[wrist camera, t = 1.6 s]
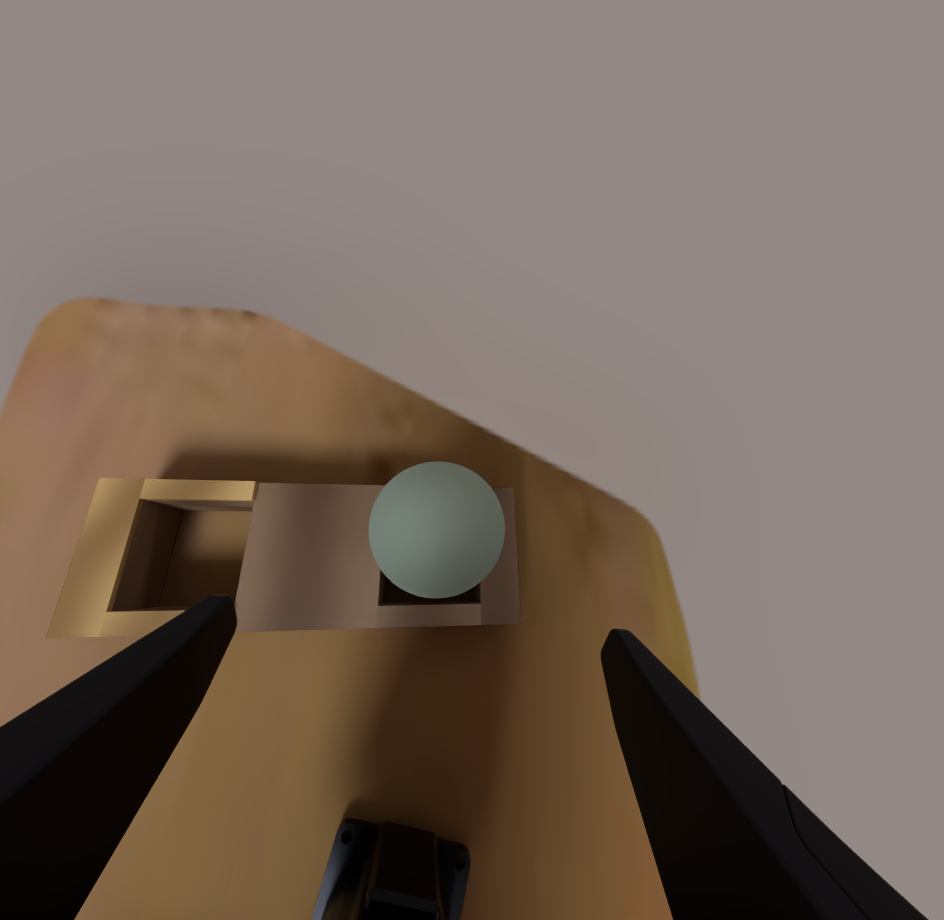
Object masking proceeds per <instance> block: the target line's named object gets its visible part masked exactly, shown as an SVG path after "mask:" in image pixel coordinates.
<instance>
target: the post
mask: <svg viewBox="0 0 944 920" xmlns="http://www.w3.org/2000/svg"><path fill="white" fill-rule="evenodd" d="M504 537H505V521H504V515H503V511H502V507H501V505H500V502H499V500H498V498H497V496H496V494H495V492H494V491H493V490H492V488H491V487H490V486H489V485H488V483H487V482H486V481H485V480H484V479H483V478H481V477H480V476H479V475H478V474H476V473H475V472H473V471H472V470H470V469H468V468H466V467H464V466H461V465H458V464H455V463H450V462H441V461H435V462H426V463H421V464H418V465H414V466H412V467H410V468H407V469H405V470H404V471H402V472H400V473H399V474H398V475H396V476H395V477H394V478H392V479H391V480H390V481H389V482H388V483H387V484H386V486H385V487H384V488H383V489H382V491H381V492H380V494H379V495H378V497H377V499H376V501H375V503H374V506H373V508H372V512H371V515H370V521H369V541H370V546H371V550H372V554H373V556H374V558H375V561H376V563H377V564H378V566H379V568H380V569H381V571H382V572H383V573H384V574H385V576H386V577H387V578H388V579H389V580H390V581H391V582H392V583H393V584H395V585H396V586H398V587H399V588H401V589H402V590H404V591H406V592H408V593H410V594H413V595H416V596H420V597H425V598H437V599H438V598H448V597H452V596H456V595H459V594H461V593H464V592H466V591H468V590H470V589H471V588H473V587H475V586H476V585H477V584H479V583H480V582H481V581H482V580H483V579H484V578H485V577H486V576H487V575H488V574H489V573H490V571H491V570H492V569H493V567H494V566H495V564H496V562H497V561H498V558H499V556H500V554H501V551H502V547H503V544H504Z"/></svg>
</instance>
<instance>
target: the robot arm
mask: <svg viewBox="0 0 944 920" xmlns="http://www.w3.org/2000/svg"><path fill="white" fill-rule="evenodd" d="M236 627H237V615H236V610H235V604H234V600H233V598H232V597H231V596H229V595H219V594H213V595H210V596H208V597H206V598H205V599H203V600H201V601H200V602H198V603H197V604H195V605H193V606H192V607H190V608H189V609H187V610H185V611H184V612H182V613H181V614H179V615H178V616H176V617H174V618H173V619H171V620H170V621H168V622H166V623H165V624H163V625H162V626H160V627H158V628H157V629H155V630H154V631H152V632H150V633H149V634H147V635H146V636H144V637H143V638H141V639H139V640H138V641H136V642H135V643H133V644H131V645H130V646H128V647H127V648H125V649H123V650H122V651H120V652H119V653H117V654H116V655H114V656H112V657H111V658H109V659H108V660H106V661H104V662H103V663H101V664H100V665H98V666H96V667H95V668H93V669H92V670H90V671H89V672H87V673H85V674H84V675H82V676H81V677H79V678H77V679H76V680H74V681H73V682H71V683H69V684H68V685H66V686H65V687H63V688H62V689H60V690H58V691H57V692H55V693H54V694H52V695H50V696H49V697H47V698H46V699H44V700H42V701H41V702H39V703H38V704H36V705H34V706H33V707H31V708H30V709H28V710H27V711H25V712H23V713H22V714H20V715H19V716H17V717H15V718H14V719H12V720H11V721H9V722H7V723H6V724H4V725H3V726H1V727H0V920H74V919H75V917H76V916H77V914H78V912H79V911H80V909H81V907H82V905H83V904H84V902H85V900H86V899H87V897H88V895H89V894H90V892H91V890H92V888H93V887H94V885H95V883H96V882H97V880H98V878H99V877H100V875H101V873H102V871H103V870H104V868H105V866H106V865H107V863H108V861H109V860H110V858H111V856H112V854H113V853H114V851H115V849H116V848H117V846H118V844H119V843H120V841H121V839H122V837H123V836H124V834H125V832H126V831H127V829H128V827H129V826H130V824H131V822H132V820H133V819H134V817H135V815H136V814H137V812H138V810H139V809H140V807H141V805H142V803H143V802H144V800H145V798H146V797H147V795H148V793H149V792H150V790H151V788H152V786H153V785H154V783H155V781H156V780H157V778H158V776H159V775H160V773H161V771H162V769H163V768H164V766H165V764H166V763H167V761H168V759H169V758H170V756H171V754H172V752H173V751H174V749H175V747H176V746H177V744H178V742H179V741H180V739H181V737H182V735H183V734H184V732H185V730H186V729H187V727H188V725H189V724H190V722H191V720H192V718H193V717H194V715H195V713H196V711H197V710H198V708H199V706H200V704H201V702H202V700H203V698H204V696H205V694H206V692H207V690H208V688H209V686H210V684H211V682H212V680H213V677H214V675H215V673H216V671H217V669H218V667H219V665H220V663H221V660H222V658H223V656H224V654H225V652H226V650H227V648H228V646H229V643H230V641H231V639H232V637H233V635H234V633H235V631H236ZM601 662H602V667H603V672H604V677H605V682H606V686H607V691H608V696H609V701H610V706H611V711H612V715H613V720H614V724H615V728H616V732H617V736H618V739H619V742H620V746H621V749H622V752H623V756H624V759H625V762H626V766H627V769H628V772H629V775H630V779H631V782H632V785H633V789H634V792H635V795H636V799H637V802H638V805H639V808H640V812H641V815H642V818H643V822H644V825H645V828H646V832H647V835H648V838H649V841H650V845H651V848H652V851H653V855H654V858H655V861H656V865H657V868H658V871H659V874H660V878H661V881H662V884H663V888H664V891H665V894H666V898H667V901H668V904H669V907H670V911H671V914H672V917H673V920H928V919H927V918H926V917H925V916H924V915H923V914H921V913H920V912H919V911H918V910H917V909H916V908H915V907H914V906H913V905H911V904H910V903H909V902H908V901H907V900H906V899H905V898H904V897H903V896H901V895H900V894H899V893H898V892H897V891H896V890H895V889H894V888H893V887H892V886H890V885H889V884H888V883H887V882H886V881H885V880H884V879H883V878H882V877H880V875H878V874H877V873H876V872H875V871H874V870H873V869H872V868H871V867H870V866H869V865H868V864H867V863H866V862H864V861H863V860H862V859H861V858H860V857H859V856H858V855H857V854H856V853H855V852H853V851H852V850H851V849H850V848H849V847H848V846H847V845H846V844H845V843H844V842H843V841H842V840H841V839H840V838H839V837H837V835H836V834H834V833H833V832H832V831H831V830H830V829H829V828H828V827H827V826H826V825H825V824H824V823H823V822H822V821H821V820H820V819H819V818H818V817H817V816H816V815H815V814H814V813H813V812H812V811H811V810H810V809H809V808H808V807H807V806H806V805H805V804H804V803H803V802H802V801H801V800H800V799H799V798H798V797H796V795H794V793H793V792H792V791H791V790H790V789H788V788H787V787H786V786H785V785H782V783H781V781H780V780H779V779H778V778H777V777H776V776H775V775H774V774H773V773H772V772H771V771H770V770H769V769H768V768H767V767H766V766H765V765H764V764H763V763H762V762H761V761H760V760H759V759H758V758H757V757H756V756H755V755H754V754H753V753H752V752H751V751H750V750H749V749H748V748H747V747H746V746H745V745H744V744H743V743H742V742H741V741H740V740H739V739H738V738H737V737H736V736H735V735H734V734H733V733H732V732H731V731H730V730H729V729H728V728H727V727H726V726H725V725H724V724H723V723H722V722H721V721H720V720H719V719H718V718H717V717H716V716H715V715H714V714H713V713H712V712H711V711H710V710H709V709H708V708H707V707H706V706H705V705H704V704H703V703H702V702H701V701H700V700H699V699H698V698H697V697H696V696H695V695H694V694H693V693H692V692H691V691H690V690H689V689H688V688H687V687H686V686H685V685H684V684H683V683H682V682H681V681H680V680H679V679H678V678H677V677H676V676H675V675H674V674H673V673H672V672H671V671H670V670H669V669H668V668H667V667H666V666H665V665H664V664H663V663H662V662H661V661H660V660H659V659H658V658H657V657H656V656H655V655H654V654H653V653H652V652H651V651H650V650H649V649H648V648H646V647H645V646H644V645H643V644H642V643H641V642H640V641H639V640H638V639H637V638H636V637H635V636H634V635H633V634H632V633H631V632H630V631H628V630H625V629H612V630H611V631H610V632H609V634H608V636H607V639H606V641H605V643H604V645H603V647H602V650H601ZM345 830H349V831H351V833H352V836H351V837H350V838H345V837H344V835H343V832H344V831H345ZM459 856H462V857H463V858H464V860H463V862H462V863H461V864H457V863H455V860H456V858H457V857H459ZM469 869H470V855H469V851H468V849H467V847H466V846H465V845H463V844H460V843H456V842H452V841H447V840H443V839H439V838H436V837H435V835H434V833H433V832H429V831H425V830H420V829H416V828H412V827H407V826H403V825H399V824H395V823H390V822H385V823H383V824H382V825H379V824H375V823H370V822H366V821H362V820H358V819H353V818H348V819H346V820H344V821H343V822H342V823H341V824H340V826H339V828H338V831H337V834H336V837H335V841H334V844H333V847H332V851H331V854H330V858H329V861H328V865H327V868H326V871H325V875H324V878H323V882H322V885H321V889H320V892H319V895H318V899H317V902H316V906H315V909H314V913H313V916H312V920H460V918H461V912H462V907H463V901H464V896H465V891H466V885H467V880H468V874H469Z"/></svg>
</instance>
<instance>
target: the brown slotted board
mask: <svg viewBox="0 0 944 920" xmlns="http://www.w3.org/2000/svg"><path fill="white" fill-rule="evenodd" d="M385 486H386V485H345V484H297V483H257V482H256V481H221V480H173V479H126V478H99V481H98V484H97V487H96V490H95V493H94V496H93V499H92V501H91V504H90V507H89V510H88V513H87V516H86V519H85V522H84V525H83V528H82V531H81V534H80V537H79V540H78V543H77V546H76V549H75V552H74V555H73V558H72V561H71V564H70V567H69V570H68V573H67V576H66V579H65V582H64V585H63V588H62V591H61V594H60V597H59V600H58V602H57V605H56V608H55V611H54V614H53V617H52V620H51V623H50V626H49V629H48V632H47V635H46V638H70V637H105V636H141V635H147V634H149V633H150V632H152V631H154V630H155V629H157V628H158V627H160V626H162V625H163V624H165V623H166V622H168V621H170V620H171V619H173V618H174V617H176V616H178V615H179V614H181V613H182V612H184V611H185V610H187V609H189V608H190V607H192V606H164V607H158V605H159V601H160V597H161V593H162V589H163V585H164V581H165V577H166V573H167V570H168V566H169V562H170V558H171V554H172V550H173V546H174V542H175V538H176V534H177V530H178V526H179V522H180V518H181V514H182V510H185V511H252V515H251V520H250V526H249V531H248V536H247V542H246V547H245V552H244V558H243V563H242V568H241V574H240V579H239V584H238V589H237V595H236V600H235V610H236V615H237V627H236V631H235V632H253V631H288V630H324V629H360V628H395V627H431V626H467V625H502V624H521V619H520V599H519V579H518V559H517V539H516V519H515V499H514V488H492V490H493V491H494V492H495V494H496V496H497V498H498V500H499V502H500V505H501V507H502V511H503V515H504V521H505V537H504V544H503V547H502V551H501V554H500V556H499V558H498V561H497V562H496V564H495V566H494V567H493V569H492V570H491V571H490V573H489V574H488V575H487V576H486V577H485V578H484V579H483V580H482V581H481V582H480V583H479V584H477V585H476V586H475V587H473V601H423V602H384V598H385V582H386V576H385V574H384V573H383V572H382V571H381V569H380V568H379V566H378V564H377V563H376V561H375V558H374V556H373V554H372V550H371V546H370V541H369V521H370V515H371V512H372V508H373V506H374V503H375V501H376V499H377V497H378V495H379V494H380V492H381V491H382V489H383V488H384V487H385Z"/></svg>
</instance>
